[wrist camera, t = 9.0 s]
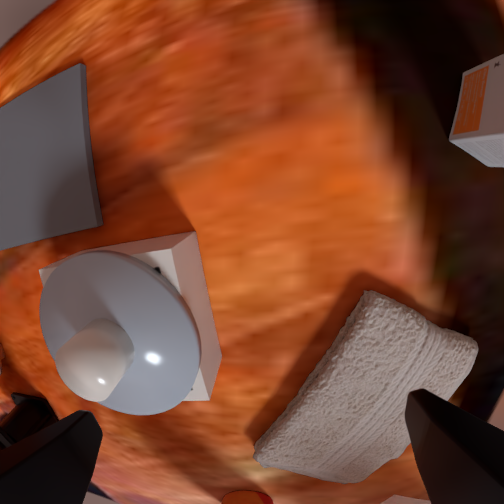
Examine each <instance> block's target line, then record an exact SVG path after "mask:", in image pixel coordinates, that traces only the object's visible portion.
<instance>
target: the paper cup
mask: <svg viewBox="0 0 504 504" xmlns="http://www.w3.org/2000/svg"><path fill="white" fill-rule="evenodd" d="M221 504H273V501H272V499H271V498H270V497H269V496H268V495H266V494H263V493H260V492H256V491H248V490H241V491H234V492H230V493H228V494H226V495H225V496H224V498H223V500H222V503H221Z"/></svg>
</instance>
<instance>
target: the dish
mask: <svg viewBox="0 0 504 504" xmlns="http://www.w3.org/2000/svg"><path fill="white" fill-rule="evenodd" d="M95 250H111V251H116V252H121V253H125V254H127V255H130V256H133V257H135V258H137V259H139V260H141V261H143V262H145V263H147V264H148V265H150V266H151V267H153V268H154V269H156V270H157V271H158V272H159V273H161V274H162V275H163V276H164V277H165V278H166V279H167V280H168V281H169V282H170V283H171V284H172V285H173V286H174V287H175V288H176V289H177V291H178V292H179V293H180V294H181V296H182V297H183V298H184V300H185V302H186V303H187V305H188V306H189V308H190V310H191V312H192V314H193V316H194V318H195V321H196V324H197V327H198V330H199V334H200V339H201V350H202V355H201V364H200V367H199V371H198V374H197V377H196V379H195V382H194V384H193V386H192V388H191V390H190V392H189V393H188V395H187V396H186V397H185V399H183V400H182V401H204V400H210V397H211V394H212V390H213V387H214V383H215V379H216V376H217V372H218V369H219V365H220V362H221V358H222V354H221V350H220V346H219V341H218V337H217V332H216V328H215V324H214V319H213V314H212V310H211V305H210V301H209V296H208V291H207V286H206V281H205V277H204V272H203V267H202V262H201V256H200V251H199V246H198V241H197V235H196V231H193V232H187V233H181V234H175V235H169V236H163V237H157V238H151V239H145V240H139V241H133V242H127V243H122V244H116V245H110V246H105V247H99V248H94V249H88V250H83V251H79V252H77V253H75V254H73V255H70V256H68V257H66V258H64V259H61V260H59V261H57V262H55V263H52V264H50V265H48V266H46V267H44V268H42V269H39V273H40V277H41V280H42V284H43V287H44V285H45V283H46V281H47V279H48V278H49V276H50V274H51V273H52V272H53V271H54V270H55V269H56V268H57V267H58V266H59V265H61V264H62V263H63V262H65V261H67V260H69V259H71V258H73V257H75V256H77V255H80V254H82V253H86V252H89V251H95Z"/></svg>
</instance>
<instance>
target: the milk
mask: <svg viewBox="0 0 504 504" xmlns="http://www.w3.org/2000/svg"><path fill="white" fill-rule="evenodd" d="M380 504H431V502H430V501H429V500H422V499H416V498H410V497H405V496H400V495H395V494H394V495H393V496H391V497H390V498H388V499H387V500H385V501H384V502H382V503H380Z"/></svg>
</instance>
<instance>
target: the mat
mask: <svg viewBox="0 0 504 504" xmlns="http://www.w3.org/2000/svg"><path fill="white" fill-rule="evenodd" d="M101 225H103V220H102V214H101V209H100V203H99V198H98V192H97V185H96V179H95V172H94V165H93V157H92V149H91V140H90V130H89V118H88V105H87V86H86V66H85V65H83V64H81V63H79V64H77V65H75V66H73V67H71V68H69V69H67V70H65V71H63V72H61V73H59V74H57V75H55V76H53V77H51V78H49V79H47V80H46V81H44V82H42V83H40V84H38V85H37V86H35V87H33V88H31V89H30V90H28V91H26V92H25V93H23V94H21V95H20V96H18V97H16V98H15V99H13V100H12V101H10V102H9V103H7V104H6V105H4V106H3V107H1V108H0V250H4V249H7V248H11V247H15V246H19V245H22V244H26V243H30V242H34V241H38V240H42V239H46V238H50V237H54V236H59V235H63V234H67V233H71V232H76V231H80V230H84V229H89V228H93V227H98V226H101Z"/></svg>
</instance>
